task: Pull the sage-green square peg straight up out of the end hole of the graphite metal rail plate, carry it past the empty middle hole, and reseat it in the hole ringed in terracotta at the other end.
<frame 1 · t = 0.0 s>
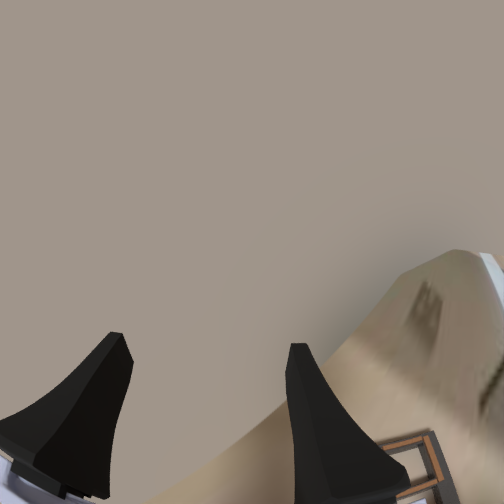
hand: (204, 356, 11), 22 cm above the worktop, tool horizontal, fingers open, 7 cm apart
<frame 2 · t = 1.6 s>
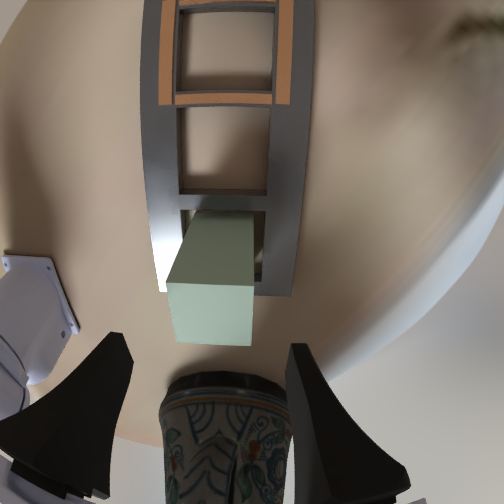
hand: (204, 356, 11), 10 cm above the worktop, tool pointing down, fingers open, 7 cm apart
beer stein: (221, 398, 32), on the worktop
peg: (224, 239, 20), resting in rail
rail: (224, 148, 17), on the worktop
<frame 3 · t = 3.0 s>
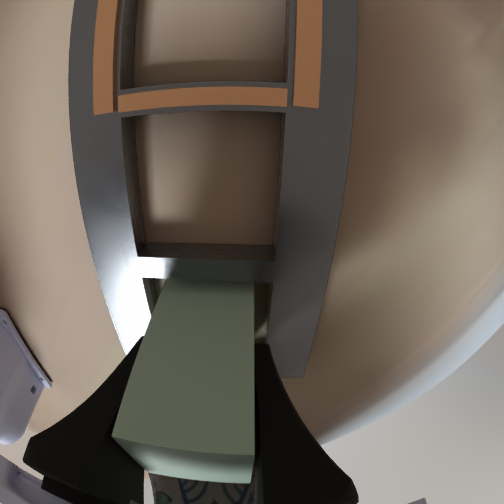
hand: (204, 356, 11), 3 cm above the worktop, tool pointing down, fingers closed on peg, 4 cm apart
beer stein: (217, 451, 25), on the worktop
peg: (211, 310, 14), resting in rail, touching gripper
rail: (205, 180, 11), on the worktop
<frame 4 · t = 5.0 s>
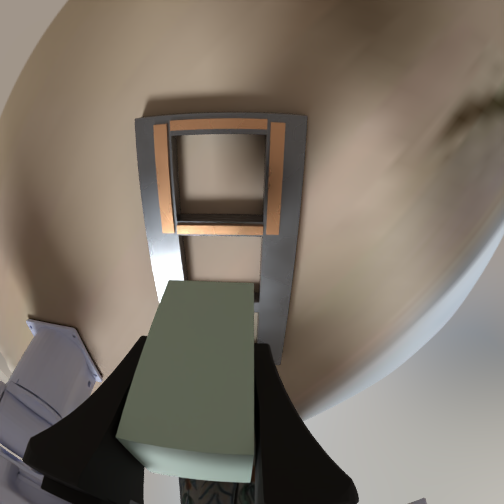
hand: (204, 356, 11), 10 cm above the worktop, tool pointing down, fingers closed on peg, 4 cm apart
beer stein: (225, 427, 35), on the worktop
peg: (212, 313, 14), point 7 cm above the worktop, touching gripper
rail: (222, 262, 21), on the worktop
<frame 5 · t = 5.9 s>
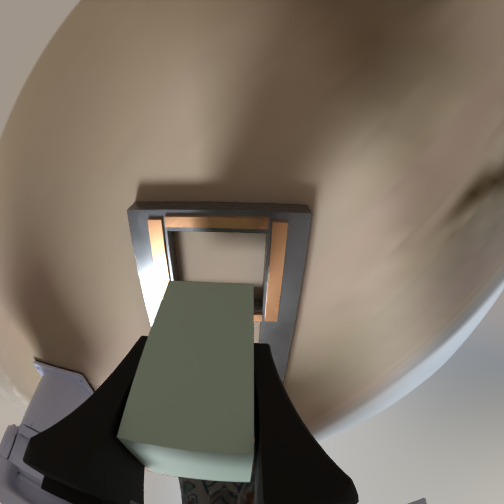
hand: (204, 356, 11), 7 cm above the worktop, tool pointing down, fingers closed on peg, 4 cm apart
beer stein: (225, 452, 36), on the worktop
peg: (212, 314, 14), point 4 cm above the worktop, touching gripper
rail: (222, 335, 21), on the worktop
when the fingers open (4 cm above the worktop, at t = 6.9 s): peg stays where it is, resting in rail.
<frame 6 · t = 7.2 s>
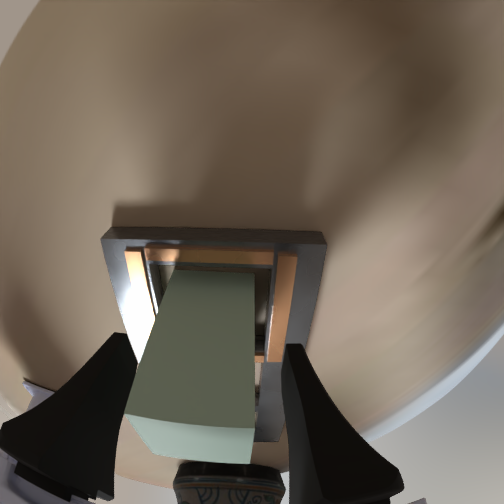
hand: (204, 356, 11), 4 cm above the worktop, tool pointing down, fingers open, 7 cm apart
beer stein: (224, 471, 33), on the worktop
peg: (214, 302, 15), resting in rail
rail: (219, 370, 18), on the worktop
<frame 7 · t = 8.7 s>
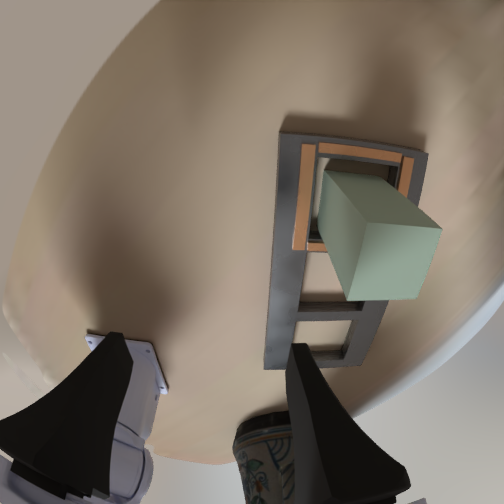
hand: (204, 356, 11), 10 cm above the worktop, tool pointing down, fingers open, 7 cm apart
beer stein: (283, 427, 36), on the worktop
peg: (348, 200, 19), resting in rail
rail: (334, 275, 22), on the worktop
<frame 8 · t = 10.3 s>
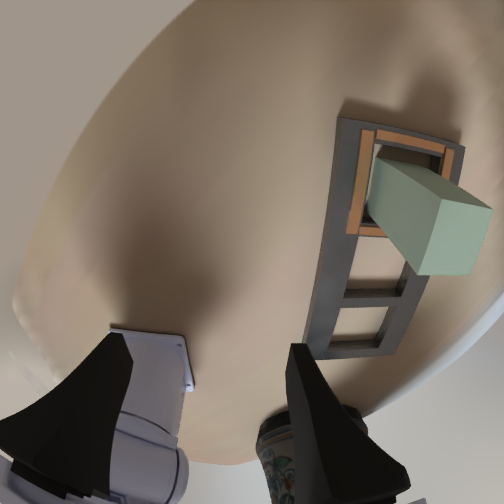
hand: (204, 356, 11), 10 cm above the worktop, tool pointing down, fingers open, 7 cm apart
beer stein: (306, 423, 36), on the worktop
peg: (395, 187, 18), resting in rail
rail: (377, 261, 21), on the worktop
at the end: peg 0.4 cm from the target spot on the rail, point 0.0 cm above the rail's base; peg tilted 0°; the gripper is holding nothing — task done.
